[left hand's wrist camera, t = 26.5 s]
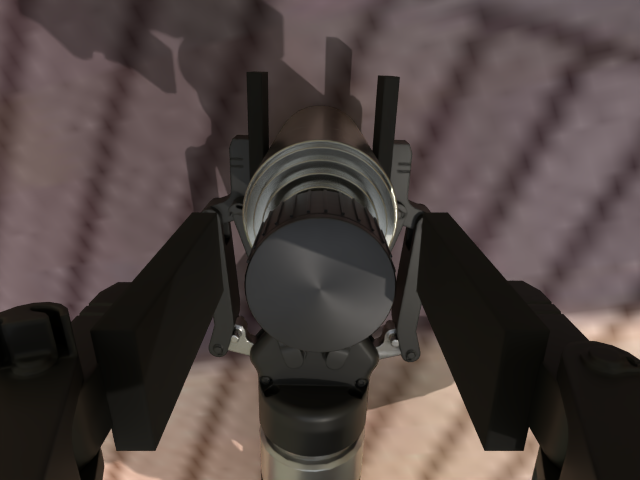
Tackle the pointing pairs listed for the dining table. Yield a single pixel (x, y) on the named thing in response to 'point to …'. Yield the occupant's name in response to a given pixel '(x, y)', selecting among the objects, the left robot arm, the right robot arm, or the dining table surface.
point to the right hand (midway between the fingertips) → (323, 75)
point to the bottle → (320, 169)
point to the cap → (320, 273)
